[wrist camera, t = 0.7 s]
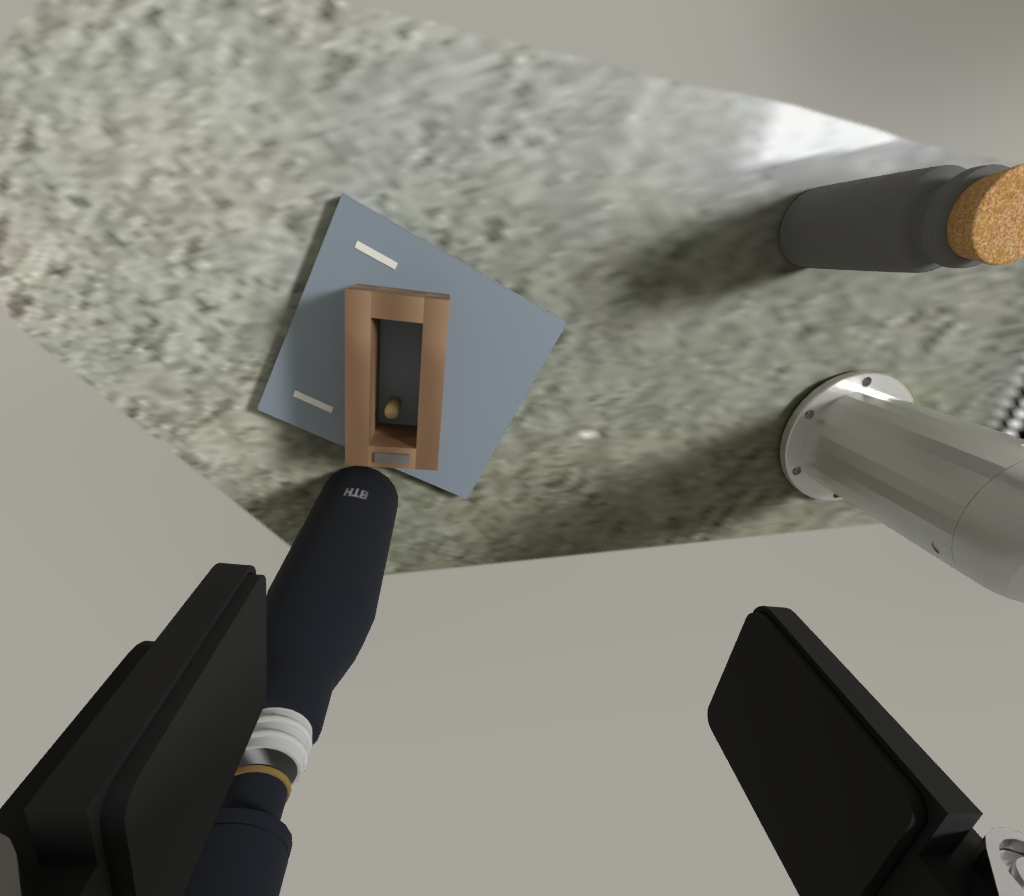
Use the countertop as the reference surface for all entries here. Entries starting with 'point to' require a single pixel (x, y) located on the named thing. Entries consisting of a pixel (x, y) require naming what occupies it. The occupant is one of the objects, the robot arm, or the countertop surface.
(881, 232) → the bottle
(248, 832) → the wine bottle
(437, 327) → the frame
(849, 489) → the robot arm
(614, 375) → the countertop surface
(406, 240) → the board
